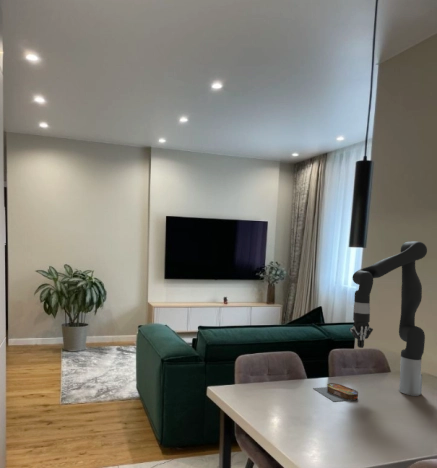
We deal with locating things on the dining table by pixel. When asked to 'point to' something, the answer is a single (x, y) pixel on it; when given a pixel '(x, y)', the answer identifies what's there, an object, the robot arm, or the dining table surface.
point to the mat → (330, 395)
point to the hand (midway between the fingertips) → (360, 347)
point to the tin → (342, 391)
